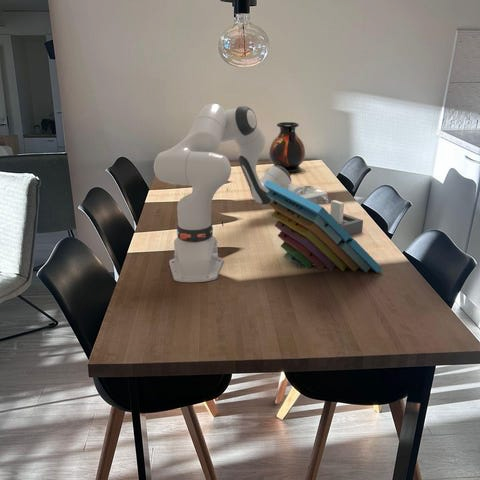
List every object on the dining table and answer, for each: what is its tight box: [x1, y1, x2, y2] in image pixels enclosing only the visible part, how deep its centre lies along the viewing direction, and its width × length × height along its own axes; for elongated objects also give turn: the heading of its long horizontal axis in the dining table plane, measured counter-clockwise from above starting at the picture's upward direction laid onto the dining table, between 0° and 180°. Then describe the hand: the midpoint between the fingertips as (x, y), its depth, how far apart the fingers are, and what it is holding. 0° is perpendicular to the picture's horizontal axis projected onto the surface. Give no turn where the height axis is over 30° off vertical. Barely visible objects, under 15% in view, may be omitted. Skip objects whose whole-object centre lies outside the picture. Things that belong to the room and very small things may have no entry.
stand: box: [340, 213, 364, 236], centre depth 196 cm, size 11×19×5 cm, turn 125°
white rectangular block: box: [329, 199, 345, 224], centre depth 195 cm, size 5×2×12 cm, turn 35°
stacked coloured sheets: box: [264, 180, 383, 274], centre depth 168 cm, size 35×18×35 cm
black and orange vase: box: [268, 121, 306, 174], centre depth 292 cm, size 22×22×28 cm
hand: (319, 203), depth 202 cm, fingers open, 8 cm apart
